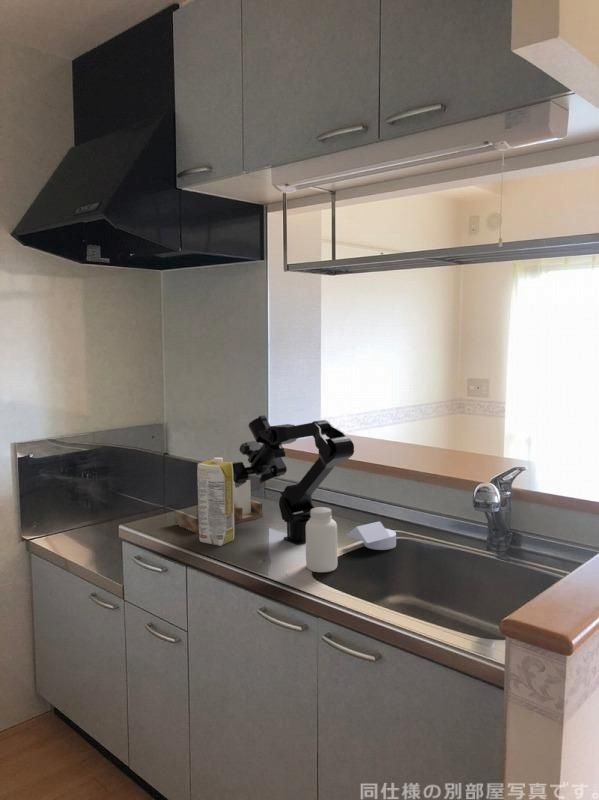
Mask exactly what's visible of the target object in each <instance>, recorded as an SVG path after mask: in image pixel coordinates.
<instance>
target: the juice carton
mask: <svg viewBox="0 0 599 800" xmlns="http://www.w3.org/2000/svg"><path fill="white" fill-rule="evenodd" d="M232 463H233V462H231V461H228V462H227V461H225V462H224V458H223V457H213V459H210V460H209V459H208V460H205V461H202V462H199V463H197V472H196V473H197V474H196V475H197V506H198V517H199V533H198V536H199V541H200V542H201V543H203V544H204V543H205V544H209V545H210V544H211V545H214V546H219V547H221V546H224V545H226V544H229V543H230V542H232V541H234V539H235V524H234V481H233V465H232Z"/></svg>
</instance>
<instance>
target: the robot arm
mask: <svg viewBox="0 0 599 800" xmlns="http://www.w3.org/2000/svg"><path fill="white" fill-rule="evenodd" d="M248 429H249V430H250V432H251V434H252V436H253V438H254V439H255V440H254V441H253V440H251V441H246V442H243V443H241V445H240V446H239V452H240V453H241V454H242V455H243V456H244V455H246V456H247V457H248V458H247V462H248V463H249V464H250V466H245V465H244V462H243V461H236V462H232V465H233V480H234V482H235V487H236V488H237V487H239V486H241V485H242V484H244V483H246V480H247V479H248V475H250V476H252V475H256V476H260V475H261V476H260V478H259V481H258V482H259V483H260V484H264V483H265V482H268V481H270V480H273V479H276V478H278V477H281V476H283V475H285V474H286V473H287V470H288V468H287V466H286V463H285V461H284V459H283V458H285V457H286V452H285V448H284V447H283V445H287V444H288V445H289V444H292V443H294V442H296V441H297V440H299V439H302V438H308V437H313V438H314V443H315V447H316V448H317V449H318V458H317V459H316V460H315V462H314V463H313V465H311V467H310V469H309V470H307V472H306V473H305V475H304V476H303V477H302V478H301V480H300V481H299V482H298V483H295V484H290V485H286V487H285V488H284V490H283V491H282V492H280V497H279V501H278V505H279V510H280V516H281V519H282V521H284V522H285V523H286V533H287V534H286V535H287V536H283V540H285V541H288V542H290V543H293V544H295V545H301V544H303V543H306V523H307V521H309V520H310V519H311V516H310V510H311V509H313V508H315V507H314V504H313V503H312V501H313V499H312V495H313V494H314V492H315V491H316V490H317V489H318V487H320V485H321V484H322V483H323V481H324V480H325V479H326V478H327V476H328V475H329V474H330V473H331V472H332V470H334V469H335V467H337V466H338V465H340V464H342V463H344V462H346V461H347V460H348V459H350V458H351V457H353V455H354V453H355V444H354V443H353V441H352V439H351V438H350V437H349V436H348V435H347V434H346V433H345V432H344V431H342V430H340V429H339V428H338V427H335V426H333V424H331V422H330V421H328V420H325V419H322V420H314V421H312V422H308V423H303V424H297V425H295V424H288V423H287V424H278V425H271V424H270V422H269V421H268V418H267V416H266V415H265V414H262V415H259V416H258V417H257V418H255V419H253V420H252V421H250V422H249V423H248ZM323 436H326V437H327V438H326V439H325V438H324V437H323ZM294 513H295V514H294Z"/></svg>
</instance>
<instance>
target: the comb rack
mask: <svg viewBox="0 0 599 800" xmlns="http://www.w3.org/2000/svg"><path fill="white" fill-rule="evenodd" d="M263 516H264V515H263V502H259V501H256V500H253V499H251V513H249V514H244V515H242V508H241V507H238V506H235V505H234V525H236V524H240V523H244V522H247V521H252V520H255V519H259V518H263ZM174 524H176V525H175V526H177V525H179V526H178V527H180V526H181V527H180V528H182V527H183V529H184V528H186V529H185V530H187V529H188V530H187V531H189V530H190V531H189V532H191V531H193V532H192V533H194V532H195V533H194V534H196V533H197V534H199V517H198V505H196V516H194V515H191V514H189V513H186V512H184V511H181V510H179V509H176V510H174Z"/></svg>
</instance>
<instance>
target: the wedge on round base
mask: <svg viewBox="0 0 599 800" xmlns="http://www.w3.org/2000/svg"><path fill="white" fill-rule="evenodd" d="M345 534H346V536H348V537H351V538H353V539H356V540H358V541H360V542H363V546H364V545H365V546H364V547H366V548H368V549H371V550H377V551H386V550H391V549H394V548H396V546H397V533H396V531H395V530H392V529H390V528H386V527H385V526H384V525H383V523H382V522H381V521H375V522H371V523H366V524H362V525H358V526H357V525H356V526H355V527H353V529H351V530H350V531H349V532H347V533H345Z"/></svg>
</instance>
